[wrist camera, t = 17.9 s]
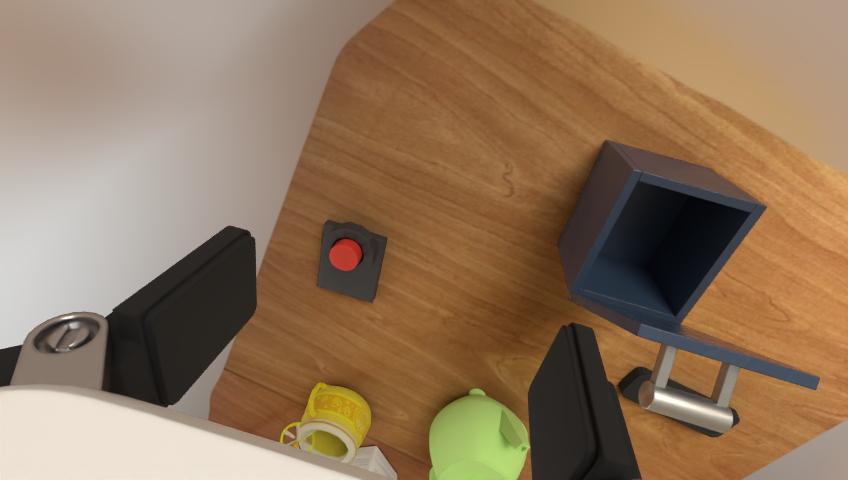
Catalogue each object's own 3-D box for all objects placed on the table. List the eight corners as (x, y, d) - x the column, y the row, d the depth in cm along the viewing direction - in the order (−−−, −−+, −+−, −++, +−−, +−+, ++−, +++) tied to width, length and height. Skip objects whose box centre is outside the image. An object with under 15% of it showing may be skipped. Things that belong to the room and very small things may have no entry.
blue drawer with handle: (640, 323, 23) (613, 409, 23) (821, 377, 23) (792, 465, 23) (570, 291, 37) (553, 346, 37) (682, 325, 36) (664, 380, 36)
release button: (336, 234, 48) (330, 241, 46) (364, 243, 47) (359, 250, 46) (333, 258, 49) (327, 266, 48) (360, 267, 49) (355, 274, 48)
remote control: (614, 384, 54) (712, 432, 54) (617, 394, 53) (717, 443, 52) (637, 361, 52) (740, 411, 52) (641, 371, 50) (746, 423, 50)
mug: (385, 421, 66) (363, 493, 56) (332, 428, 70) (301, 497, 60) (352, 366, 62) (320, 434, 51) (296, 376, 65) (256, 441, 55)
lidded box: (606, 139, 39) (633, 168, 31) (710, 168, 39) (768, 206, 30) (557, 244, 46) (568, 292, 37) (647, 270, 45) (679, 325, 36)
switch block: (329, 210, 49) (319, 220, 47) (389, 228, 49) (382, 239, 46) (320, 281, 55) (311, 293, 52) (375, 297, 54) (368, 311, 52)
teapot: (490, 357, 55) (486, 437, 44) (559, 408, 57) (571, 496, 47) (409, 419, 65) (389, 497, 54) (471, 460, 67) (464, 544, 56)
